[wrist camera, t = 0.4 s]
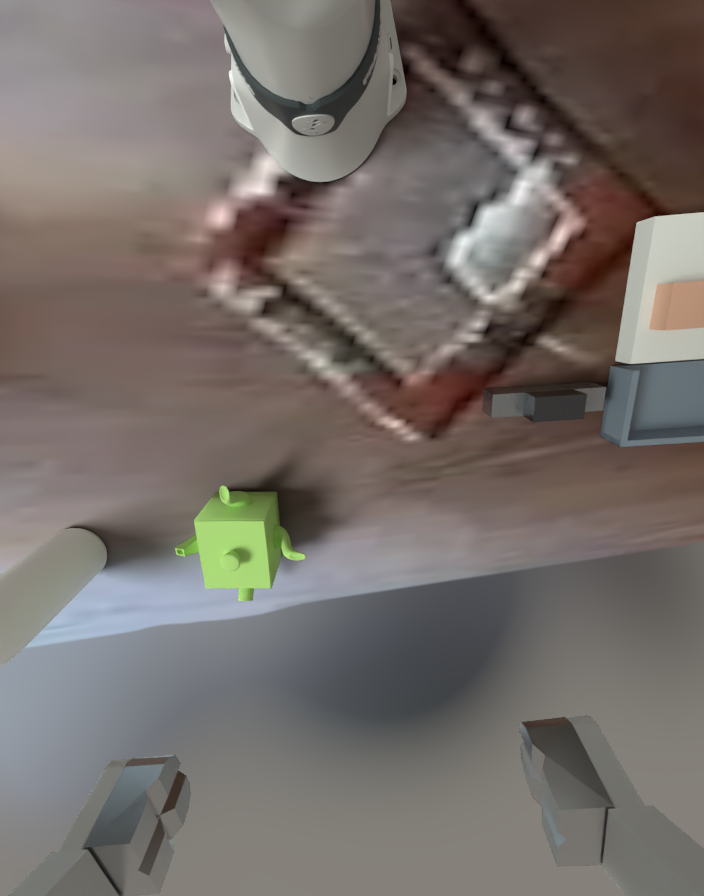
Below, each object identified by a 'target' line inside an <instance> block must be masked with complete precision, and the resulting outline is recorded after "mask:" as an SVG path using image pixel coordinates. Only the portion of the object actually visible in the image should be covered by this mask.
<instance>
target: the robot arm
mask: <svg viewBox="0 0 704 896" xmlns="http://www.w3.org/2000/svg"><path fill="white" fill-rule="evenodd" d="M210 2H211V3H212V5H213V7H214V8H215V10H216V12H217V13H218V15H219V17H220V19H221V21H222V22H223V25H224V30H225V38H224V39H225V47H226V51H227V53H228V54H231V70H230V71H229V77H230V81H231V111H232V114H233V116H234V119H235V121H236V122H237V123H238V124H239V125H240V126H241V127H242V128H244V129H245V130H247V131H248V132H250V133H251V134H253V135H254V136H256V137H257V138H258V139H259V140H260V141H261V142H262V144H263V145H264V146H265V148H266V149H267V151H268V152H269V154H270V155H271V156H272V157H273V159H274V160H275V161H276V162H277V163H278V164H279V165H280V166H281V167H283V168H284V169H285V170H286V171H288V172H289V173H291V174H293V175H294V176H297V177H299V178H301V179H304V180H308V181H314V182H327V181H332V180H336V179H339V178H342V177H344V176H346V175H348V174H349V173H351V172H352V171H354V170H355V169H356V168H358V167H359V166H360V165H361V164H362V163H363V162H364V161H365V159H366V158H367V157H368V156H369V154H370V153H371V151H372V150H373V148H374V146H375V144H376V142H377V140H378V138H379V136H380V134H381V132H382V130H383V128H384V127H385V125H386V124H387V123H388V122H389V121H390V120H391V119H392V118H393V117H394V116H396V115H397V114H398V112H399V111H400V110H401V109H402V108H403V106H404V104H405V102H406V96H407V89H406V83H405V78H404V72H403V67H402V61H401V56H400V50H399V45H398V39H397V34H396V28H395V23H394V17H393V12H392V6H391V1H390V0H210ZM393 79H395V80H396V82H397V83H396V84H395V85H392V81H393ZM520 734H521V737H522V739H523V743H522V744H521V746H520V751H521V760H522V765H523V770H524V774H525V777H526V780H527V784H528V786H529V789H530V792H531V795H532V798H533V799H534V800H535V801H536V802H537V803H538V804H539V805H540V806H541V807H542V826H543V828H544V831H545V834H546V837H547V840H548V842H549V845H550V848H551V851H552V853H553V856H554V859H555V861H556V864H557V867H559V866H589V865H602V869H603V870H604V871H605V872H606V873H607V874H608V876H609V877H610V878H611V879H612V880H613V881H614V883H615V884H616V885H617V886H618V887H619V888H620V890H621V891H622V892H623V893H624V894H625V895H626V896H704V848H703V847H702V846H700V845H699V844H698V843H697V842H696V841H694V840H693V839H692V838H691V837H690V836H688V835H687V834H686V833H685V832H684V831H683V830H681V829H680V828H679V827H678V826H676V825H675V824H674V823H673V822H672V821H671V820H669V819H668V818H667V817H666V816H665V815H663V814H662V813H661V812H660V811H659V810H658V809H656V808H655V807H654V806H645V805H644V803H643V801H642V800H641V798H640V796H639V795H638V793H637V791H636V789H635V788H634V786H633V785H632V783H631V781H630V779H629V778H628V776H627V774H626V772H625V771H624V769H623V767H622V765H621V764H620V762H619V760H618V759H617V757H616V755H615V754H614V752H613V750H612V748H611V747H610V745H609V743H608V741H607V740H606V738H605V736H604V735H603V733H602V731H601V729H600V728H599V726H598V724H597V723H596V721H595V720H594V719H593V718H592V717H591V716H588V715H585V716H576V717H566V718H565V717H562V718H553V719H544V720H536V721H527V722H521V724H520ZM180 764H181V763H180V762H179V760H178V758H177V757H176V755H168V756H158V757H147V758H130V759H122V760H112V761H111V762H110V763H109V764H108V765H107V767H106V768H105V769H104V770H103V772H102V774H101V776H100V777H99V779H98V781H97V783H96V784H95V786H94V788H93V790H92V792H91V793H90V795H89V797H88V799H87V801H86V803H85V804H84V806H83V808H82V809H81V811H80V813H79V815H78V817H77V819H76V820H75V822H74V824H73V826H72V827H71V829H70V831H69V833H68V835H67V836H66V838H65V840H64V842H63V844H62V845H61V847H60V849H59V851H55V852H51V853H50V854H49V855H48V856H47V857H46V858H45V859H44V860H43V861H42V862H41V863H40V864H39V865H38V866H37V867H36V868H35V869H34V870H33V871H32V872H31V873H30V874H29V875H28V876H27V877H26V878H25V879H24V880H23V881H22V882H21V883H20V884H19V885H18V886H17V887H16V888H15V889H14V890H13V891H12V892H11V893H10V894H9V895H8V896H139V895H149V894H158V893H160V891H161V888H162V885H163V883H164V879H165V876H166V874H167V871H168V868H169V865H170V862H171V859H172V856H173V853H174V848H173V841H172V838H173V837H174V836H175V834H176V833H177V832H178V831H179V830H180V829H181V827H182V826H183V824H184V821H185V818H186V814H187V812H188V808H189V801H190V794H191V792H190V783H189V781H188V778H187V776H186V775H184V774H183V773H181V772H180V771H178V769H179V766H180Z"/></svg>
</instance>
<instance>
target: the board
mask: <svg viewBox="0 0 704 896" xmlns="http://www.w3.org/2000/svg"><path fill="white" fill-rule="evenodd" d="M692 281H704V212H701V213H690V214H678V215H667V216H655V217H652V218H649V219H646V220H643V221H640V222H637V224H636V230H635V237H634V243H633V250H632V256H631V262H630V269H629V275H628V282H627V288H626V295H625V301H624V307H623V314H622V320H621V327H620V333H619V340H618V346H617V352H616V359H615V361H617V362H623V363H628V364H638V363H652V362H666V361H680V360H694V359H704V328H691V329H678V330H650V329H649V327H650V321H651V315H652V310H653V304H654V299H655V293H656V288H657V284H668V283H679V282H692Z"/></svg>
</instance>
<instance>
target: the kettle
mask: <svg viewBox="0 0 704 896" xmlns="http://www.w3.org/2000/svg"><path fill="white" fill-rule="evenodd" d="M194 524H195V530H196V534H195V535H194V536H192V537H191V538H189V539H188V540H186V541H185V542H183V543H182V544H180V545H178V546H177V547H176V548H175V550H176V555H180V556H186V555H190V554H193V553H197V552H199V554H200V560H201V565H202V571H203V576H204V581H205V586H206V588H239V596H238V601H251V600H253V592H254V588H272V585H273V582H274V579H275V575H276V572H277V569H278V566H279V563H280V559H281V556H282V552H283V554H284V556H285V557H287V558H288V559H291V560H304V559H305V558H306V556H305V555H304V554H302V553H300V552H297V551H295V550H294V549H293V548H292V546H291V542H290V537H289V534H288V532H287V531H286V530H285V529H284V528H283V527H281V526H280V518H279V507H278V496H277V492H242V491H232V492H229V490H228V488H227V487H226V486H221V487H220V490H219V492H216V493H215V494H214V495H213V496H212V498H211V499H210V500H209V502H208V503H207V504H206V505H205V507H204V508H203V509H202V510H201V512H200V513H199V514H198V516H197V517H196V518H195V519H194Z"/></svg>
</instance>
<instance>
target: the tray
mask: <svg viewBox="0 0 704 896" xmlns="http://www.w3.org/2000/svg"><path fill="white" fill-rule="evenodd" d="M600 437H602V438H604V439H606V440H608V441H610V442H611V443H613V444H615V445H617V446H619V447H627V446H643V445H659V444H675V443H690V442H704V359H700V360H686V361H672V362H658V363H645V364H631V365H617V366H610V373H609V379H608V386H607V393H606V399H605V406H604V412H603V419H602V426H601V432H600Z"/></svg>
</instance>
